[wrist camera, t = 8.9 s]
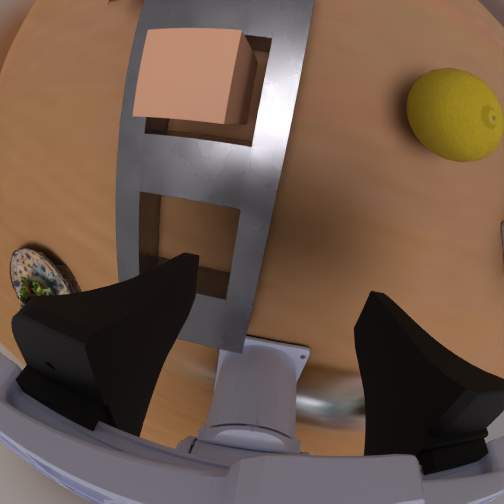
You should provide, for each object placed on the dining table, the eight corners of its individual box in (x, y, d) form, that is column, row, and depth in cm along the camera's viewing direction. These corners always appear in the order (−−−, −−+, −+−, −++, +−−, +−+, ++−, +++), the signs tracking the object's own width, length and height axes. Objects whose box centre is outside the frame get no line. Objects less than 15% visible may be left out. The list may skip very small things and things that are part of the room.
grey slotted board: (247, 325, 24) (241, 353, 21) (140, 299, 25) (123, 322, 21) (313, 0, 13) (318, -21, 10) (172, -9, 13) (152, -26, 10)
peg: (246, 124, 17) (223, 124, 11) (183, 116, 18) (132, 116, 11) (257, 62, 15) (241, 30, 9) (193, 56, 16) (147, 29, 9)
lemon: (374, 109, 16) (428, 104, 9) (419, 61, 14) (484, 40, 6) (425, 167, 17) (491, 198, 10) (466, 120, 15) (538, 131, 8)
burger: (73, 246, 24) (22, 285, 17) (98, 338, 29) (66, 383, 22) (8, 236, 25) (-34, 265, 18) (33, 316, 30) (2, 349, 23)
